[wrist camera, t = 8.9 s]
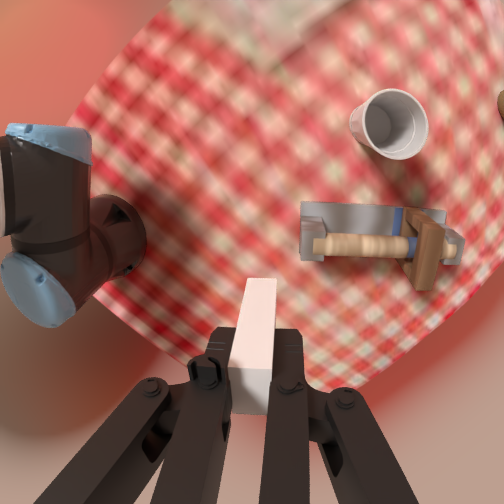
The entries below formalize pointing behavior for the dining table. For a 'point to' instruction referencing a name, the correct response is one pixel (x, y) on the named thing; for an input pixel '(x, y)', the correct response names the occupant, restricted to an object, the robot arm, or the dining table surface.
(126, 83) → the dining table surface
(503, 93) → the squeeze bottle
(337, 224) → the rail
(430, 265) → the collar
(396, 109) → the cup
